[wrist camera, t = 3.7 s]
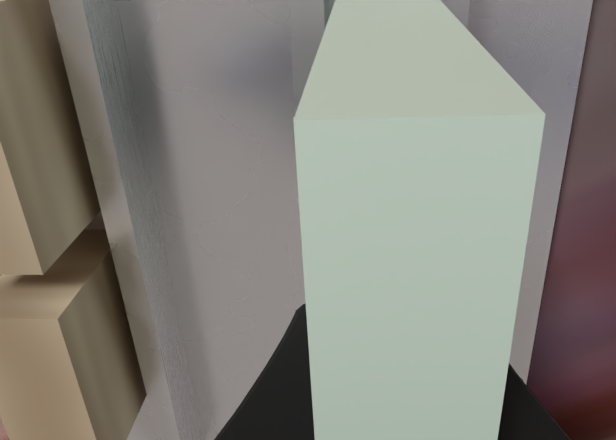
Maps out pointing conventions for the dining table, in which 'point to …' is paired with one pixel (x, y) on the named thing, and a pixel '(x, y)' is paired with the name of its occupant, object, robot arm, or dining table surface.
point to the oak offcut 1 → (38, 145)
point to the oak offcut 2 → (68, 349)
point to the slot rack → (252, 174)
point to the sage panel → (411, 223)
